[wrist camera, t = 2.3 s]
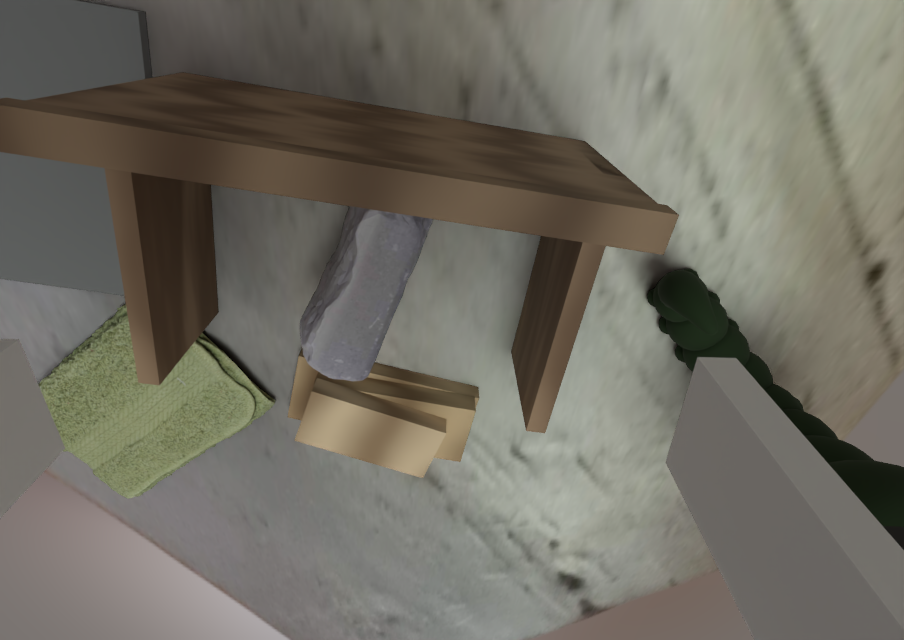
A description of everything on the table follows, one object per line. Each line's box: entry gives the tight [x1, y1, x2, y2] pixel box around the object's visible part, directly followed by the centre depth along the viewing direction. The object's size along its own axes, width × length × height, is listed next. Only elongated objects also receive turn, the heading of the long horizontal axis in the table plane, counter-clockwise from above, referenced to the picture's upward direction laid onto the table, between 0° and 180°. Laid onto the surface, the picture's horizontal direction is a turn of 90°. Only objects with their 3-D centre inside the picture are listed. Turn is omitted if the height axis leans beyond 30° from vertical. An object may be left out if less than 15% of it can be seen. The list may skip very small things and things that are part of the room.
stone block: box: [300, 206, 433, 381], centre depth 31 cm, size 12×5×10 cm, turn 155°
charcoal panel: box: [0, 0, 152, 296], centre depth 33 cm, size 14×18×1 cm
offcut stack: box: [288, 348, 479, 478], centre depth 41 cm, size 14×6×5 cm, turn 74°
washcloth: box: [38, 304, 275, 499], centre depth 41 cm, size 13×18×3 cm
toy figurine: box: [647, 269, 904, 527], centre depth 29 cm, size 9×19×25 cm, turn 38°
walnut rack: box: [0, 72, 679, 433], centre depth 29 cm, size 24×16×15 cm, turn 81°
